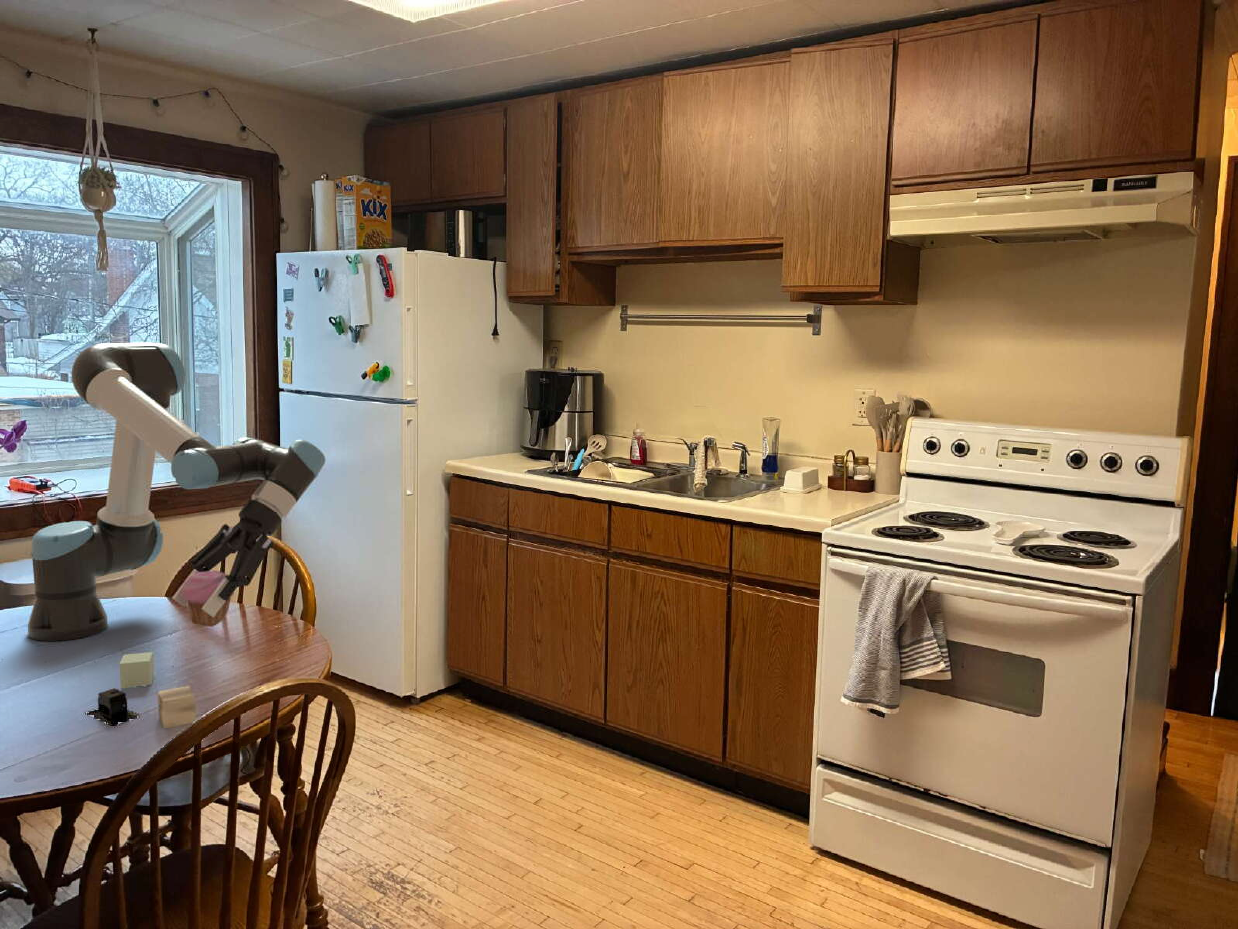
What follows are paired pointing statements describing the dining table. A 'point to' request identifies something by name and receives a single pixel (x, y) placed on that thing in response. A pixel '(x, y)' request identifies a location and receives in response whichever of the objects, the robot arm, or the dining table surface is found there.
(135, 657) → the sage block
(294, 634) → the dining table surface
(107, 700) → the black piece
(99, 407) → the robot arm
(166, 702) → the birch block
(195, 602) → the cupcake
